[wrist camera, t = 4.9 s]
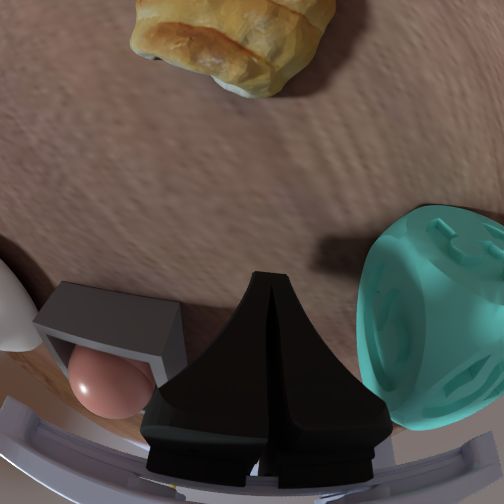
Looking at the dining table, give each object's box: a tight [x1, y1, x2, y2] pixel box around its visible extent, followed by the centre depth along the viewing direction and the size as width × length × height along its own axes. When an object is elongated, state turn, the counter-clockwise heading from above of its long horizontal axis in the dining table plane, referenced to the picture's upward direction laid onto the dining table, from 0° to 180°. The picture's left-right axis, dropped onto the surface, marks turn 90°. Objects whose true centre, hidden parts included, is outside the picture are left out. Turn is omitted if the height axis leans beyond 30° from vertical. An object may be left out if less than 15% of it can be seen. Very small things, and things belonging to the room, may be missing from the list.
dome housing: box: [32, 281, 188, 414], centre depth 17 cm, size 9×9×4 cm
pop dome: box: [68, 344, 156, 419], centre depth 16 cm, size 6×6×6 cm
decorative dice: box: [357, 205, 504, 430], centre depth 11 cm, size 8×8×8 cm
